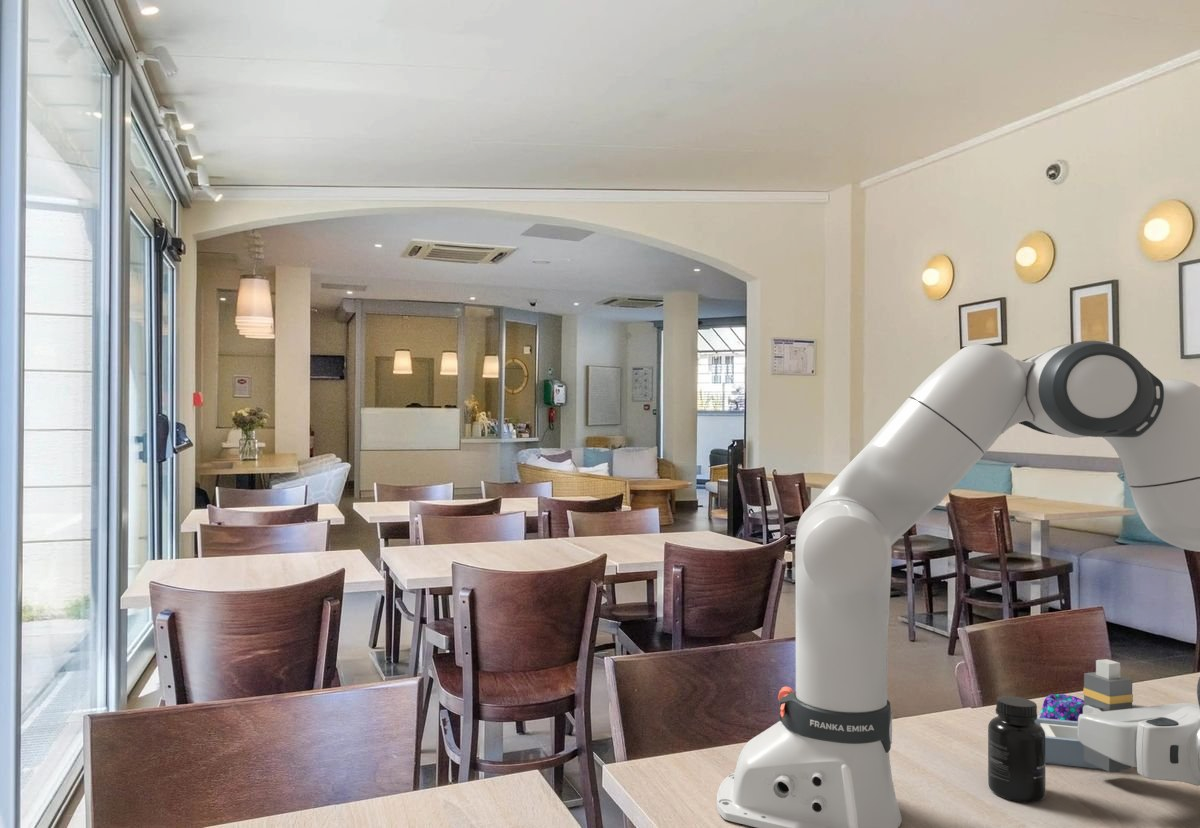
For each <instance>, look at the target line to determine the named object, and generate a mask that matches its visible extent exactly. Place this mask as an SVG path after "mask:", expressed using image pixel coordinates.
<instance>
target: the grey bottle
mask: <svg viewBox="0 0 1200 828" xmlns="http://www.w3.org/2000/svg"><path fill="white" fill-rule="evenodd" d="M1082 695H1083V700H1084V706H1085V705H1095V706H1098V707H1101V708H1102V712H1104V711H1113V710H1122V709H1131V708H1132V704H1133V701H1134V694H1133V679H1131V678H1129V677H1126V676H1123V675H1121V662H1118V661H1115V660H1111V659H1108V658H1107V659H1097V660H1095V671H1093V672H1084V673H1083V694H1082ZM1084 761H1086V762H1088V763H1090V764H1093V765H1095V766H1097V767H1099V768H1102V769H1101V770H1104V771H1107V772H1108V773H1109V772H1110V773H1112V772H1120V771H1123V770H1124V771H1125V770H1132V769H1133V767H1132V766H1128V765H1125V764H1122V763H1119V762H1117V761H1114V760H1112V759H1110V758H1108V757H1105V756H1103V755H1101V754H1099V753H1097V752H1095V751H1093V750H1091V749H1089V748H1087V747H1085V746H1084Z"/></svg>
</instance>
